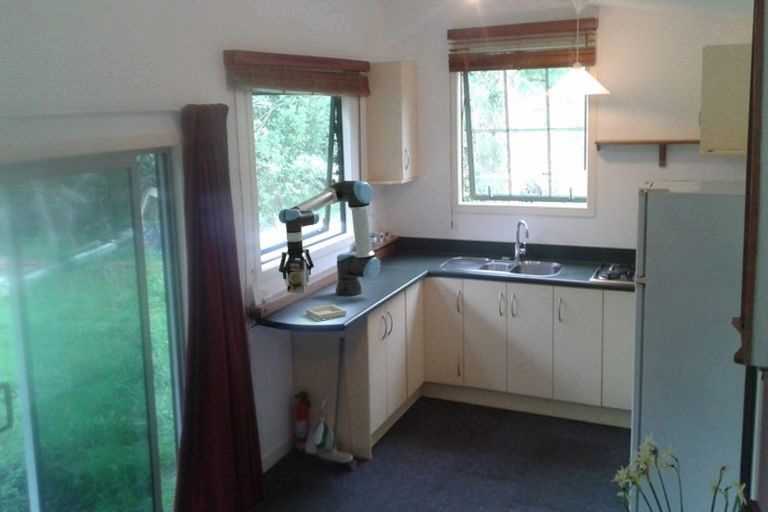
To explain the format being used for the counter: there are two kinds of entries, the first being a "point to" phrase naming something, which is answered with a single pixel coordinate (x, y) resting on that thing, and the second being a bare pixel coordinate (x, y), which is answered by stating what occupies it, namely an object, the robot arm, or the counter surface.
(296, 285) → the coffee box
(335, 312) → the tray
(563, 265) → the counter surface
